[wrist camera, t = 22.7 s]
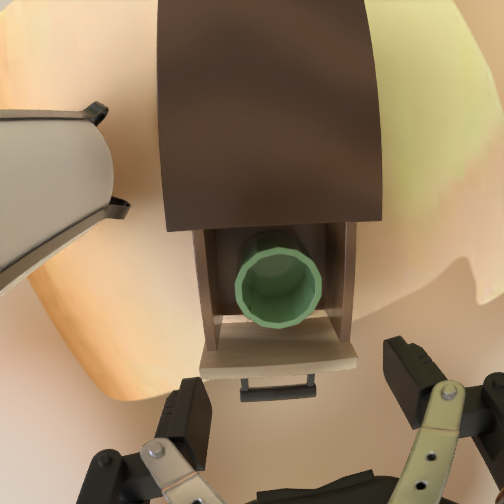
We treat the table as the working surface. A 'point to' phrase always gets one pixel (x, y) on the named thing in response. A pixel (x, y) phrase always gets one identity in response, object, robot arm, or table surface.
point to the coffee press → (51, 185)
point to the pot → (276, 280)
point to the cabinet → (267, 113)
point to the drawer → (272, 339)
